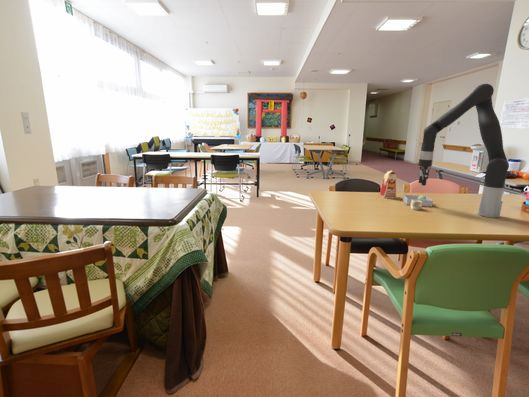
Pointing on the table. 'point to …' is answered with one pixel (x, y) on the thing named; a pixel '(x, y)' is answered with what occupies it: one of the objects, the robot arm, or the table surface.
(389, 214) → the table surface
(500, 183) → the robot arm
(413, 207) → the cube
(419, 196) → the ball
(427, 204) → the bin
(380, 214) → the table surface
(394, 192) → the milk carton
